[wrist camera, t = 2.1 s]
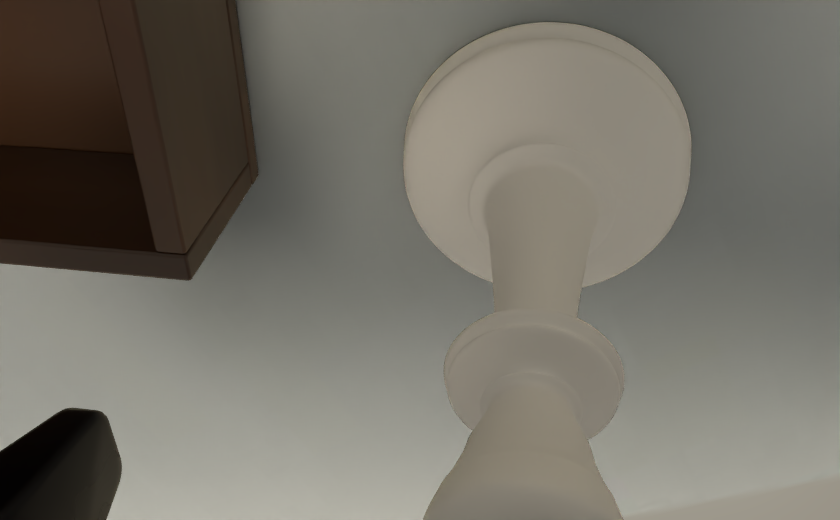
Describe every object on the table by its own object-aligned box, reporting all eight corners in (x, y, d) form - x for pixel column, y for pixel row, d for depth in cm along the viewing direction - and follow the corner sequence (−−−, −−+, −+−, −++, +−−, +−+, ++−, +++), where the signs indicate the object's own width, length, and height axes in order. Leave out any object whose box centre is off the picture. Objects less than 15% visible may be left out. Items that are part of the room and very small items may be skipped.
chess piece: (733, 213, 14) (956, 908, 6) (489, 307, 16) (410, 923, 8) (616, -39, 12) (714, 515, 4) (351, 106, 14) (59, 668, 6)
